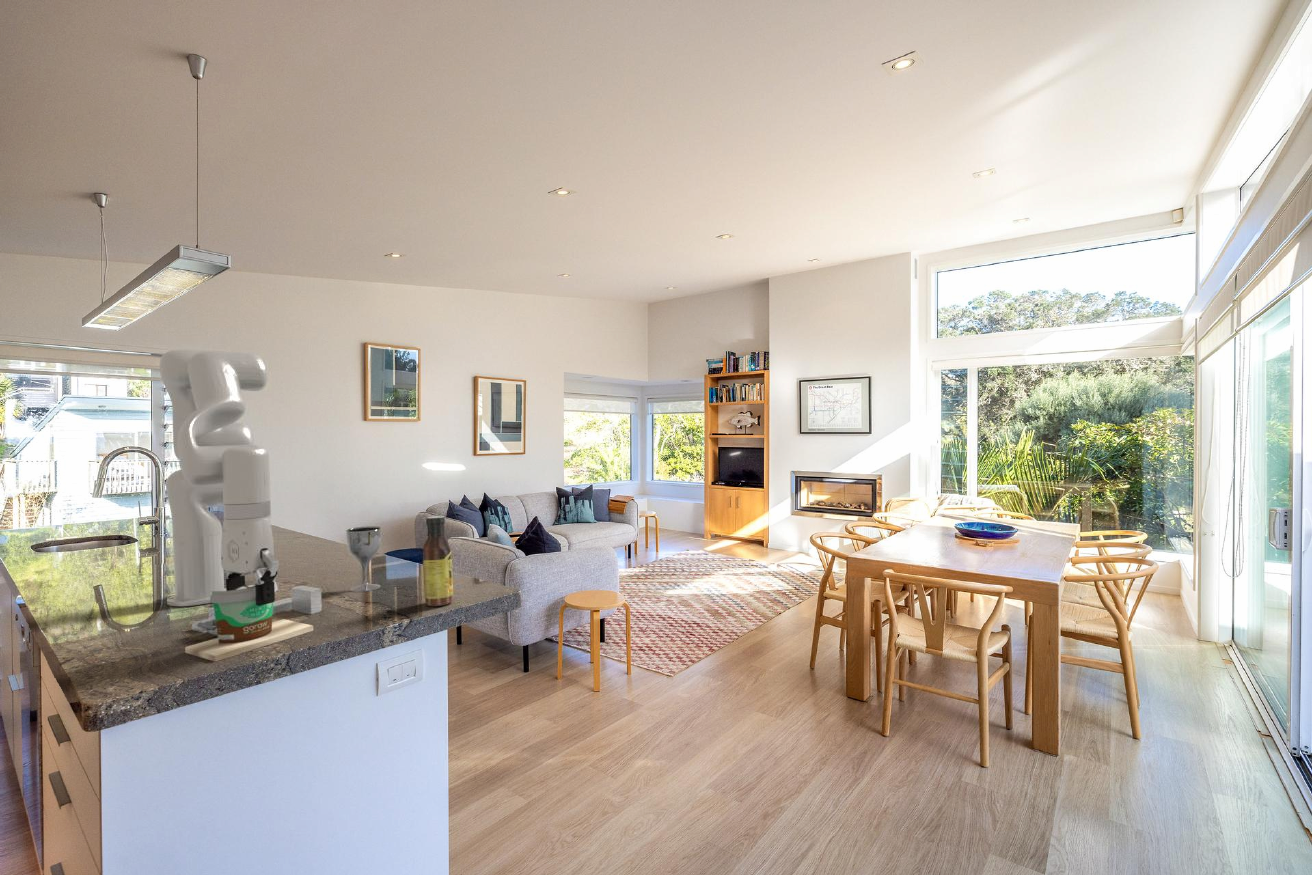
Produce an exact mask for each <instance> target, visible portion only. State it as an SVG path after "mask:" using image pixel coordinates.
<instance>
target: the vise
mask: <svg viewBox="0 0 1312 875" xmlns="http://www.w3.org/2000/svg"><path fill="white" fill-rule="evenodd" d="M290 590H291V591H290V593H291V594H290V595H291V597H285V598H282V599H279V600H275V601H274V602H273V614H277V613H279V612H283V611H287V610H292V611H293V612H299V613H303V614H304V613H305V614H309V615H314V614H316V613H320V612H322V610H323V609H322V607H323V605H322V588H319V587H313V586H307V585H298V586H294V587H291V588H290ZM207 611H208V618H204V619H201V620H197V621H193V622H191V623H192V624H191V627H192V628H191V629H192V631H195V632H199V633H202V634H203V633H207V632H209V634H210V635H214V636H218V633H217V626H216V619H215V612H214V606H213V607H209V608H208V610H207Z"/></svg>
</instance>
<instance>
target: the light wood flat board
mask: <svg viewBox="0 0 1312 875" xmlns="http://www.w3.org/2000/svg"><path fill="white" fill-rule="evenodd" d="M313 631H314V625H312V624H307V623H302V622H299V621H293V620H290V619H284V618H282V619H280V620H275V621H272V631H271V633H269V634H268V635H266V636H264V637H261V638H258V639H254V640H250V641H245V642H239V643H227V644H222V643H219V640H218V637H217V638H212V639H209V640H207V641H206V640H205V641H202V642H198V643H195V644H192V645H191V644H190V645H188V646H186V647H185V649H184V650H185V651H184V652H185V653H186V654H189V655H192V656H196V657H199V658H201V659H205V660H209V661H213V662H216V663H217V662H218V661H221V660H224V659H229V658H231V657H234V656H238V655H241V654H244V653H247V652H250V651H254V650H256V649H259V648H260V649H261V648H262V647H266V646H269V645H272V644H275V643H279V642H281V641H285V640H288V639H293V638H294V637H298V636H300V635H304V634H306V633H310V632H313Z"/></svg>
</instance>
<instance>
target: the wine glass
mask: <svg viewBox="0 0 1312 875" xmlns="http://www.w3.org/2000/svg"><path fill="white" fill-rule="evenodd" d="M345 532H346V533H345V534H346V543H347V548H348V551H349V553H350V554H351V556H353V557H354V558H355V559H356V560H357V561H358V562H359V563H360V566H361V568H362V574H363V583H362V584H359V585H356V586H353V587H351V588H350V589H349V591H350V592H353V593H354V592H355V593H362V592H365V593H366V592H370V591H375V590H378V589H380V588H381V587H382V586H381V585H380V584H376V583H369V582H368V567H369V564H370V562H371V560H372V559H373V558H374V556H375V555H376V554H377V553H378V551H379V549H380V546H381V540H382V527H381V526H378V525H377V526H373V525H372V526H370V525H369V526H368V525H367V526H359V527H358V526H357V527H352V528H348V529H346V531H345Z"/></svg>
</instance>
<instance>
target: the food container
mask: <svg viewBox="0 0 1312 875" xmlns="http://www.w3.org/2000/svg"><path fill="white" fill-rule="evenodd" d="M257 584H258V583H257V582H256V583H254V584H247V585H246V584H245V585H244V586H240V587H237V588H235V589H233V590H231V591H212V595H211V596H210V603H209V604H213V607H214V612H215V619H216V626H217V633H218V635H217V638H218V640H219V643H222V644H227V643H239V642H245V641H250V640H254V639H258V638H261V637H264V636H266V635H268V634H269V633H271V631H272V622H273V614H274V613H273V603H269V604H265V605H261V606H257V605H256V593H255V585H257ZM274 589H275V593H276V592H277V591H279V587H278V583H277V582H276V581H275V582H274Z"/></svg>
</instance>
